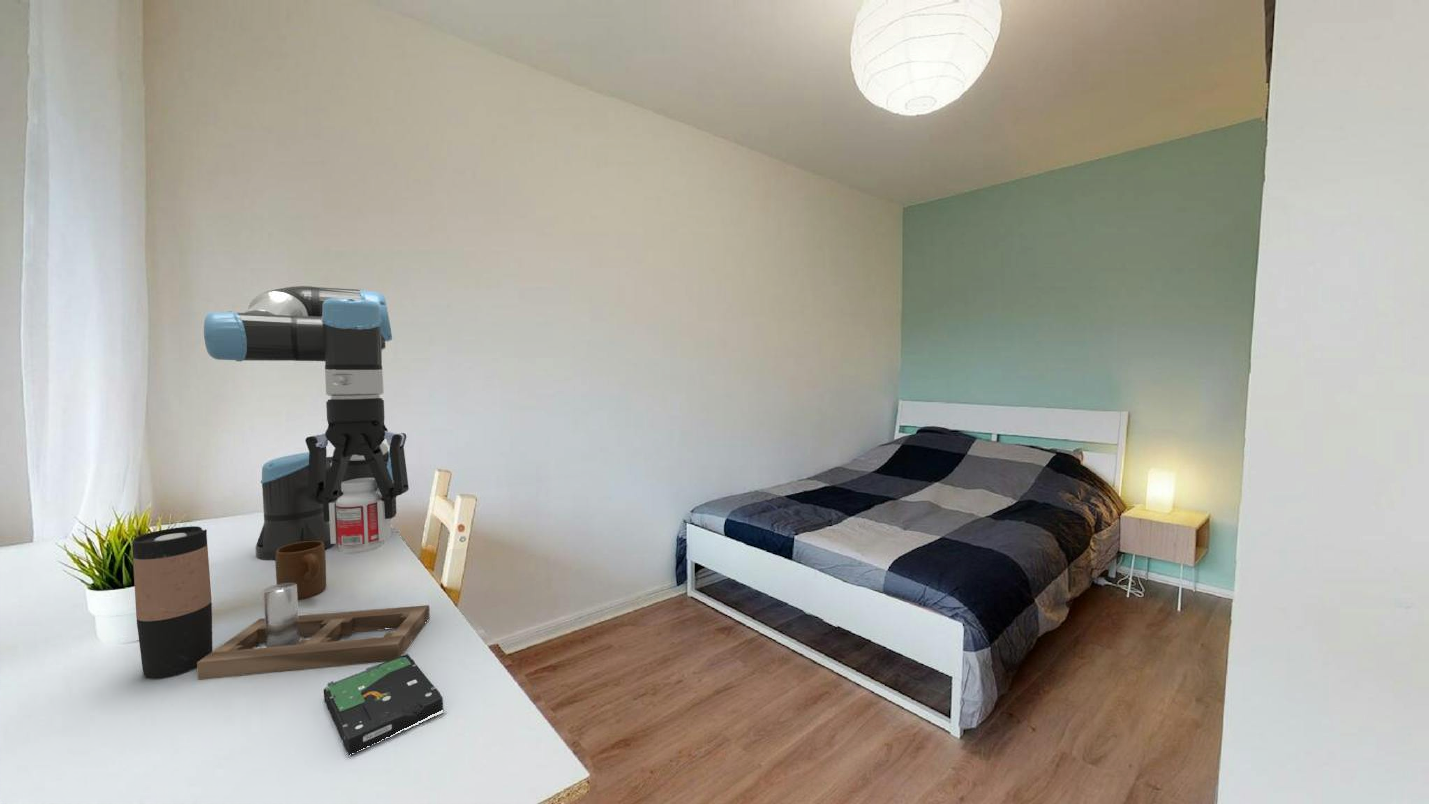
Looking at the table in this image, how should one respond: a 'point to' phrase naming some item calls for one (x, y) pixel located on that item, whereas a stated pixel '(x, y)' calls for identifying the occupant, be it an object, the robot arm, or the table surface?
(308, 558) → the mug
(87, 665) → the table surface
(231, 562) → the table surface
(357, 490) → the pill bottle
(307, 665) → the socket board
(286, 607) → the steel peg
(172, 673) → the travel mug
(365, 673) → the disk drive
